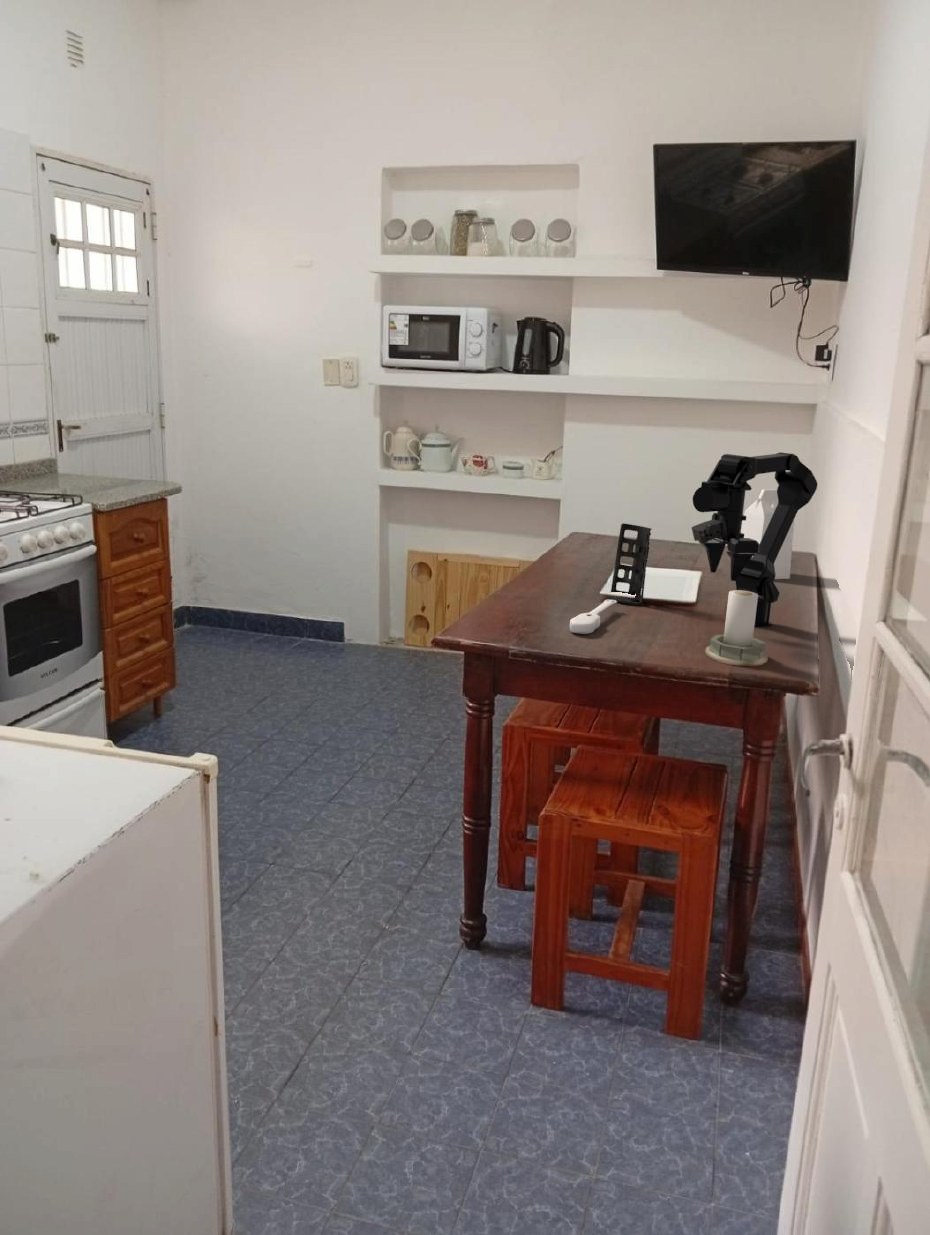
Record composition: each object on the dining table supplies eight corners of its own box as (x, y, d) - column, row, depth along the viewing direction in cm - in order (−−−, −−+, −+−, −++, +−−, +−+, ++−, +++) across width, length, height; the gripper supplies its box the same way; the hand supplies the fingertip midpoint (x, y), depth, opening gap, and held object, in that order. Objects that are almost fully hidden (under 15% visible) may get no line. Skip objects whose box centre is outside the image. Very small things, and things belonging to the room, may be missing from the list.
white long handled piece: (600, 608, 250) (601, 597, 250) (622, 612, 248) (623, 601, 248) (564, 633, 226) (565, 621, 225) (588, 637, 223) (589, 625, 223)
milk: (766, 570, 309) (777, 487, 302) (789, 578, 298) (800, 492, 292) (733, 571, 305) (743, 487, 299) (755, 579, 295) (766, 492, 288)
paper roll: (732, 646, 217) (739, 588, 214) (756, 653, 213) (763, 594, 210) (716, 651, 213) (723, 591, 210) (740, 658, 209) (747, 597, 206)
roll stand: (746, 647, 221) (748, 632, 220) (779, 664, 209) (781, 648, 208) (694, 649, 218) (695, 634, 217) (724, 667, 206) (726, 651, 205)
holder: (600, 598, 261) (612, 522, 257) (616, 596, 266) (628, 523, 262) (636, 606, 253) (648, 529, 250) (652, 605, 259) (664, 529, 255)
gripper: (679, 504, 234) (673, 568, 238) (719, 516, 217) (712, 586, 221) (721, 504, 237) (714, 568, 241) (764, 516, 220) (756, 585, 224)
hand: (722, 576), depth 232 cm, fingers open, 9 cm apart
